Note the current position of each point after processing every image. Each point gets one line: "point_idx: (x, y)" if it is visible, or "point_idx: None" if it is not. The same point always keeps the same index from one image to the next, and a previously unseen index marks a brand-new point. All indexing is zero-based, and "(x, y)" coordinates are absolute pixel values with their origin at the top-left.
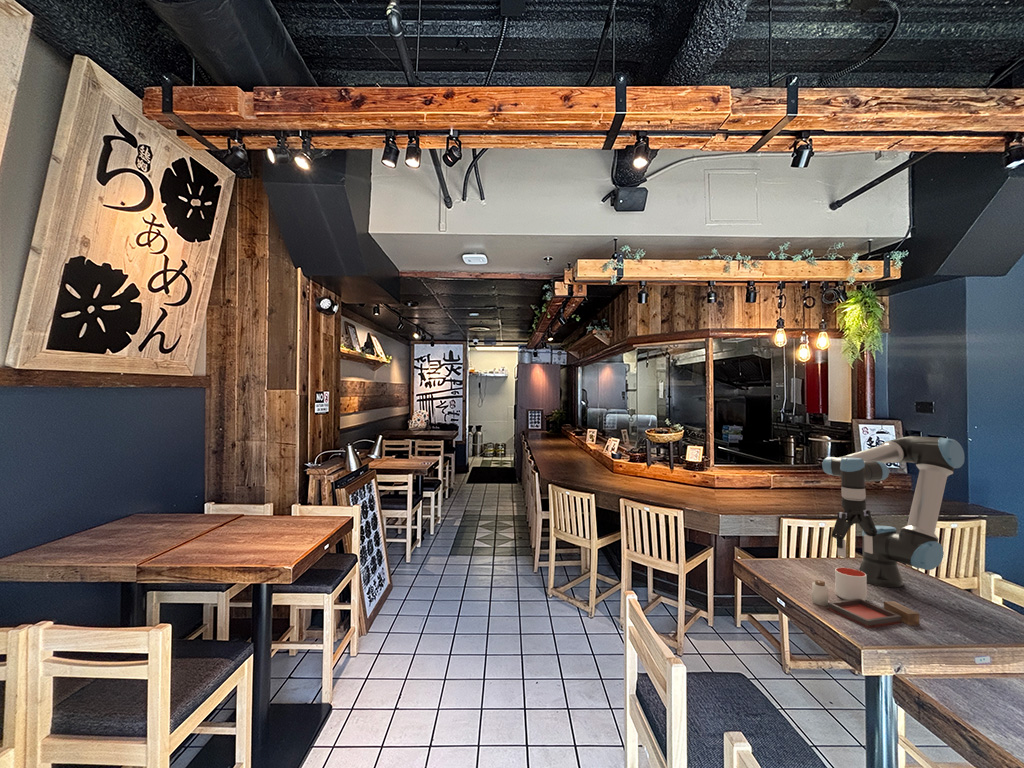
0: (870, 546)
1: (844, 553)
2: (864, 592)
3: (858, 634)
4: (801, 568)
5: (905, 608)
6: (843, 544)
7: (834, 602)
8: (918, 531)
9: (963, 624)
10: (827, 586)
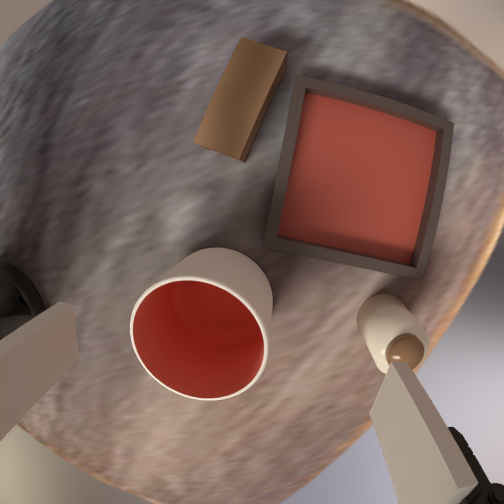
0: (35, 339)
1: (420, 384)
2: (213, 254)
3: (495, 127)
4: (140, 461)
5: (234, 82)
6: (453, 449)
7: (401, 269)
8: None
9: (116, 25)
10: (402, 323)
